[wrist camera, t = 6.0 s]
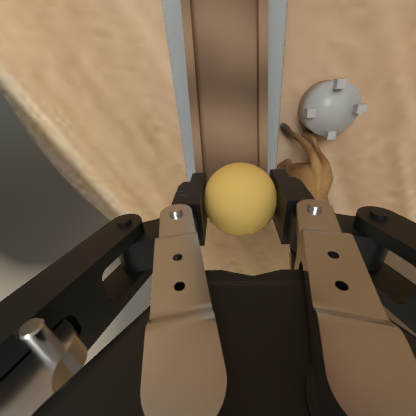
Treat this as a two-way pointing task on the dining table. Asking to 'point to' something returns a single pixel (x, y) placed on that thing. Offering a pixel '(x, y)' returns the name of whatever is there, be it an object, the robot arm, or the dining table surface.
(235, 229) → the ball
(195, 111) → the ramp
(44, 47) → the dining table surface
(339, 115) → the grey dome cap
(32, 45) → the dining table surface
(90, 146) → the dining table surface
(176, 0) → the deck
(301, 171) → the lion figurine
